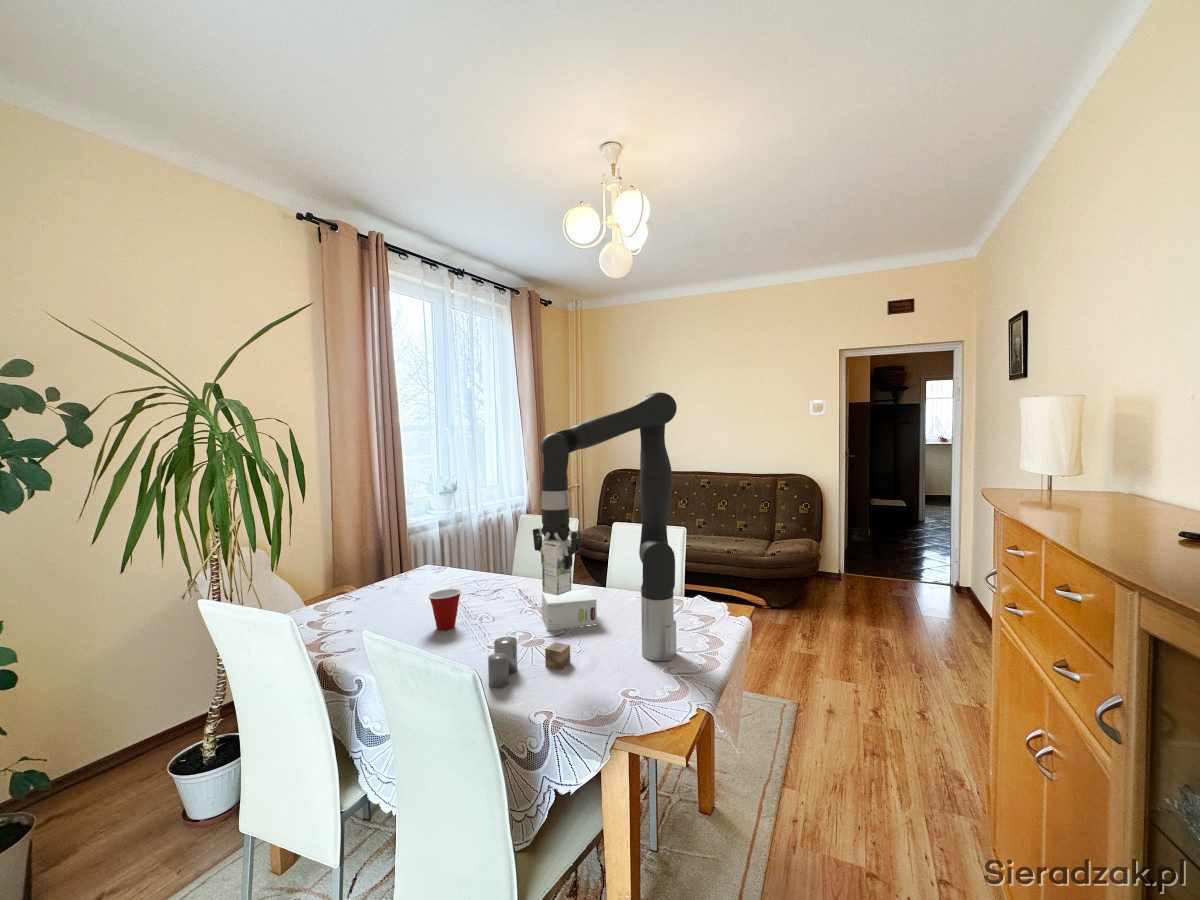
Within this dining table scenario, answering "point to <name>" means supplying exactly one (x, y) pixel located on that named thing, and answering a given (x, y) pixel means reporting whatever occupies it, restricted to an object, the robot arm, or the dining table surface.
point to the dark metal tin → (508, 651)
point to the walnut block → (557, 655)
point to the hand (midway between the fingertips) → (556, 567)
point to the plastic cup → (445, 607)
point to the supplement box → (569, 609)
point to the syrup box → (554, 568)
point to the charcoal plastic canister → (498, 670)
